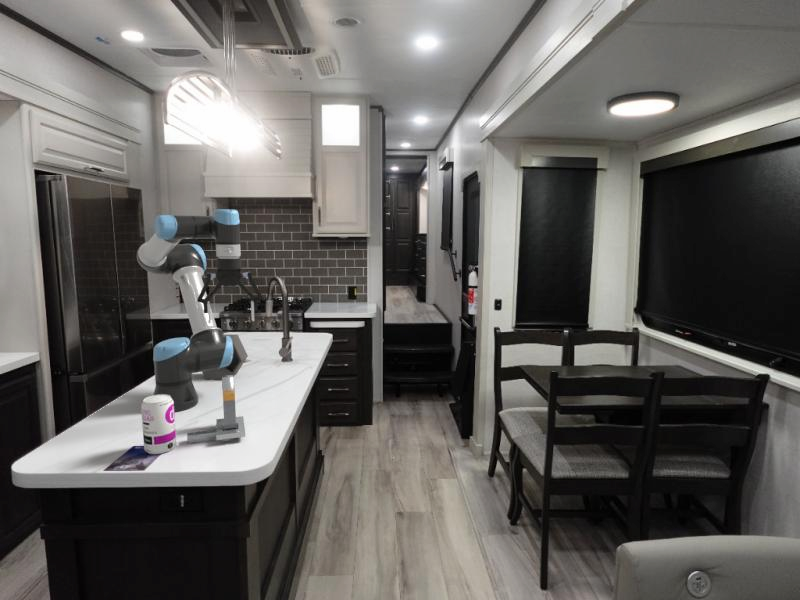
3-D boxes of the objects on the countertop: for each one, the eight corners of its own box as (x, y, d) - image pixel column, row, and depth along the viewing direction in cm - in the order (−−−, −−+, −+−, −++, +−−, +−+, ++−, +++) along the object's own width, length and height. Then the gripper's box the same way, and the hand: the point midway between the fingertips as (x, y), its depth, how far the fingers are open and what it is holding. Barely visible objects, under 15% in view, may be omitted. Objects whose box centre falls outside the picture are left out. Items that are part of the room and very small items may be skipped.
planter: (188, 368, 200) (213, 327, 197) (196, 362, 208) (220, 323, 205) (223, 390, 201) (248, 350, 198) (230, 384, 209) (254, 345, 206)
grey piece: (186, 449, 138) (183, 395, 135) (190, 426, 154) (187, 377, 151) (245, 441, 143) (243, 389, 141) (242, 419, 159) (240, 372, 157)
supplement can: (181, 442, 142) (177, 393, 140) (168, 455, 134) (165, 403, 132) (153, 442, 142) (149, 393, 140) (139, 455, 134) (135, 403, 132)
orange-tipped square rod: (225, 439, 144) (222, 394, 142) (224, 434, 147) (222, 391, 145) (236, 437, 146) (234, 393, 143) (236, 433, 149) (234, 389, 146)
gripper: (186, 259, 149) (190, 326, 152) (269, 257, 158) (271, 321, 161) (187, 257, 156) (191, 321, 159) (267, 256, 165) (269, 317, 168)
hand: (231, 321), depth 160 cm, fingers open, 13 cm apart
